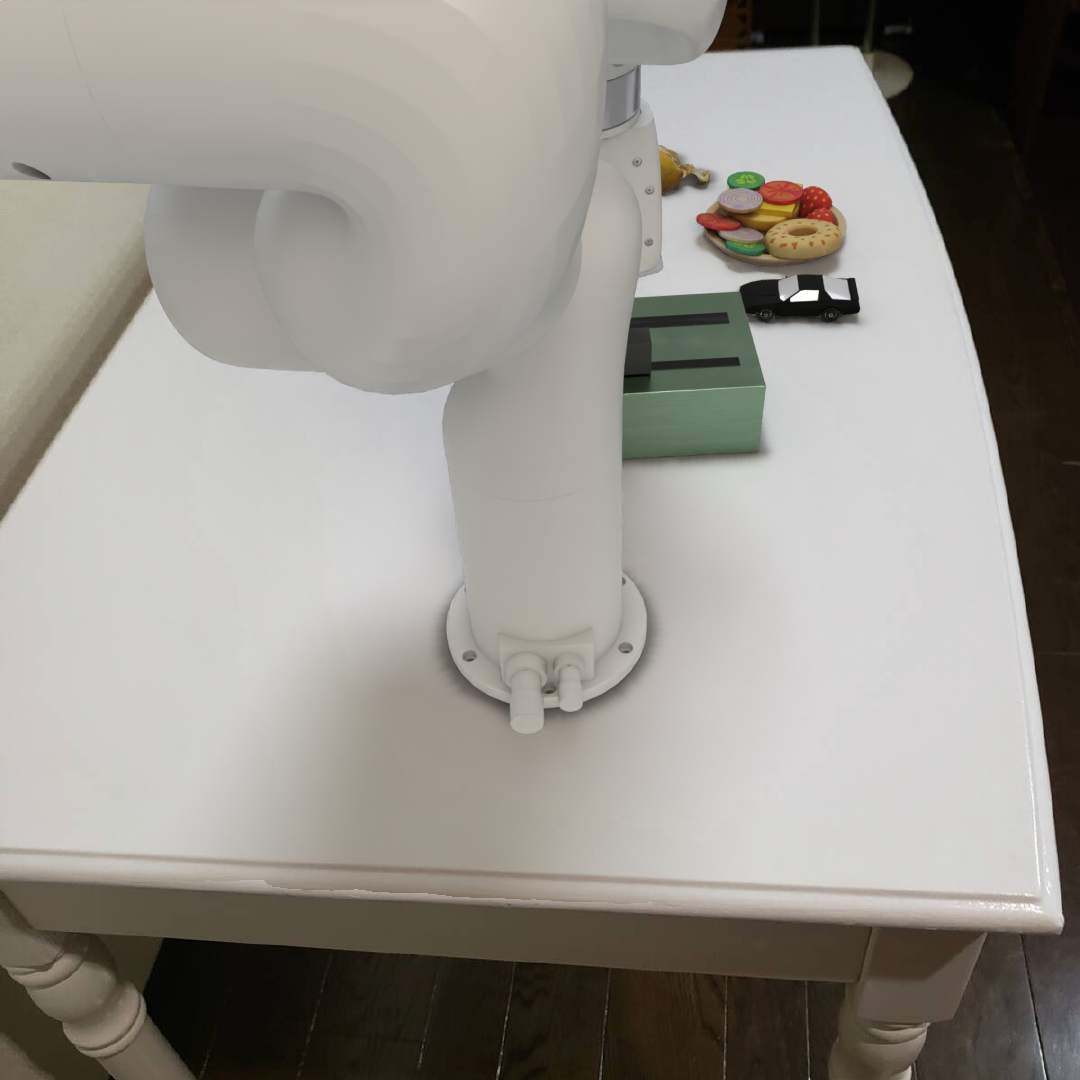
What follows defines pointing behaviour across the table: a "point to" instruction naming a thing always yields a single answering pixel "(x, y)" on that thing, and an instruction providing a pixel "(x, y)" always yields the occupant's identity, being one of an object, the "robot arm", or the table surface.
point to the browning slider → (638, 352)
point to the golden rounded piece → (676, 170)
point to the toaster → (694, 379)
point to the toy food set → (773, 221)
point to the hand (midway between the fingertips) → (584, 346)
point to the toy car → (801, 297)
